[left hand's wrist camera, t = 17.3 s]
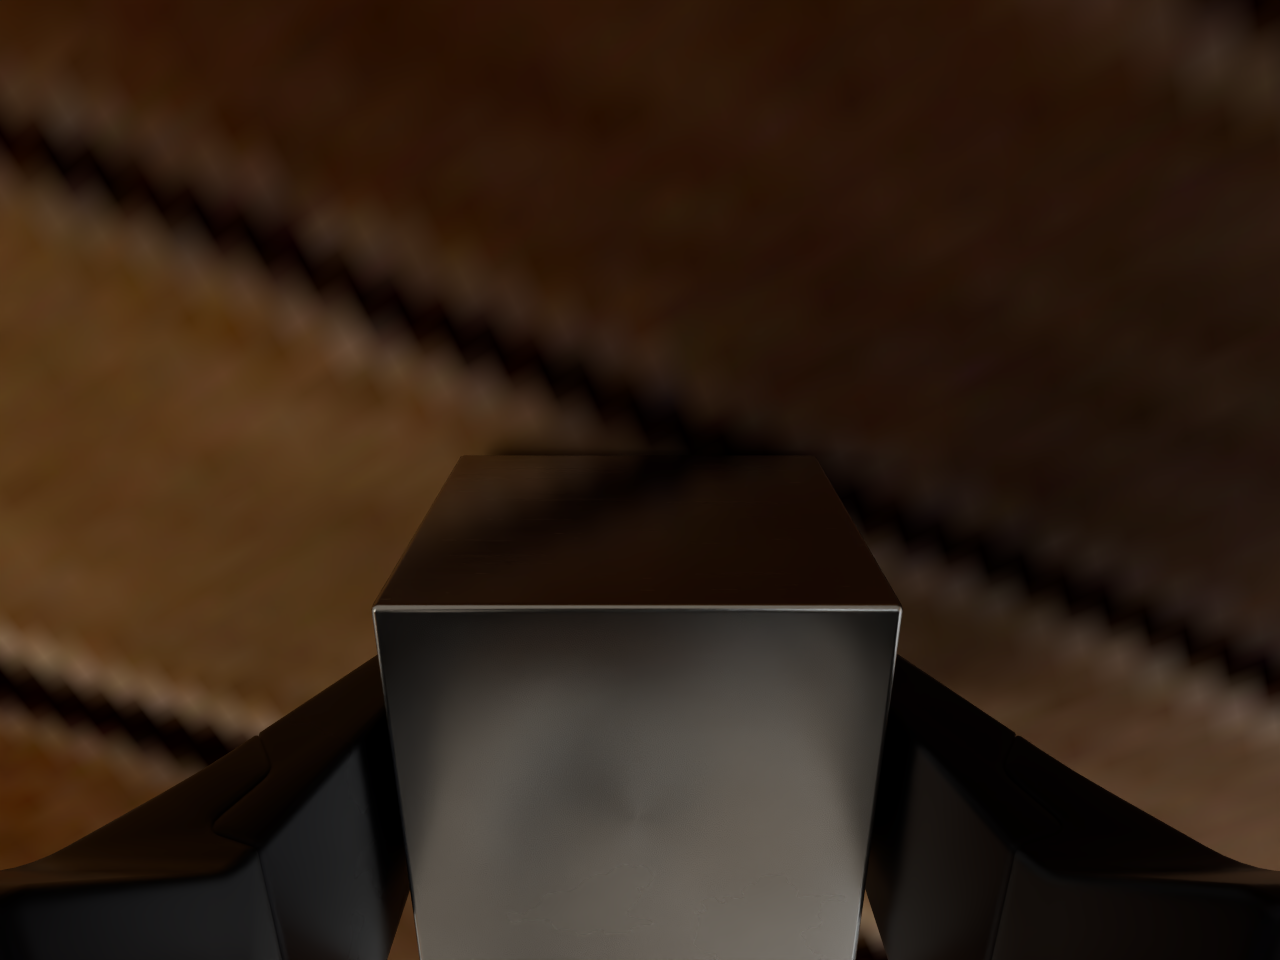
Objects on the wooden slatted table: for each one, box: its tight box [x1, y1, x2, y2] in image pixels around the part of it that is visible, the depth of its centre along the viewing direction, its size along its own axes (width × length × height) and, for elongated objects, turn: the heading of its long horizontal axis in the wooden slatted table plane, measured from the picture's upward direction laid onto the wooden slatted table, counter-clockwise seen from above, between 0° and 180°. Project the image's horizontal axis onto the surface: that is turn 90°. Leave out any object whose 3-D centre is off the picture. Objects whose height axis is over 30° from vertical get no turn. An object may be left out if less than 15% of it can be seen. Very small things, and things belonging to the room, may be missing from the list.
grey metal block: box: [372, 456, 903, 960], centre depth 11 cm, size 5×5×4 cm
